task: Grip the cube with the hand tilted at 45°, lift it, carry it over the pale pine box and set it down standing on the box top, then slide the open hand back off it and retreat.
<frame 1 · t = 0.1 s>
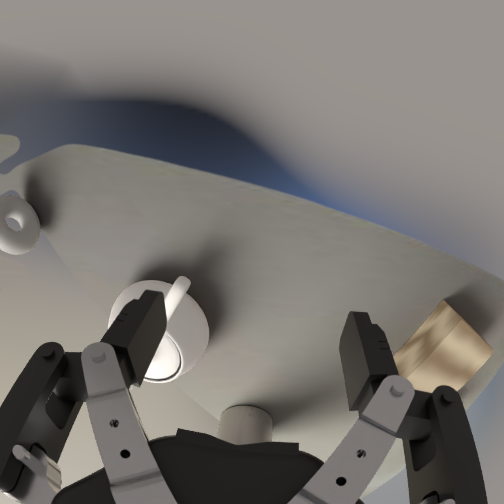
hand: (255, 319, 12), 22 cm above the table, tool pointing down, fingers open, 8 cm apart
teapot: (164, 319, 39), on the table
pine box: (435, 347, 38), on the table
donut: (35, 215, 36), on the table
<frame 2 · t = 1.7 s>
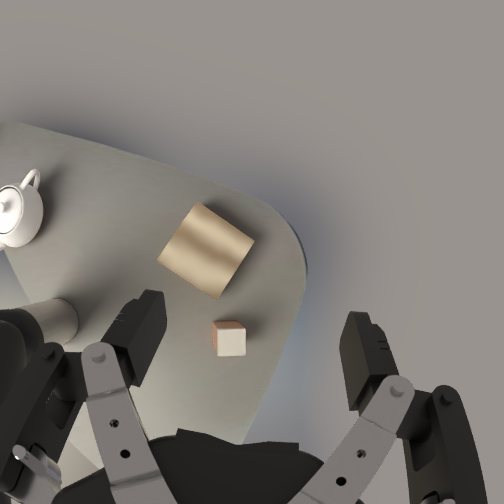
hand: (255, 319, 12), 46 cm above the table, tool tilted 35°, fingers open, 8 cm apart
cube: (224, 333, 58), on the table
teapot: (22, 219, 48), on the table
pine box: (203, 252, 58), on the table
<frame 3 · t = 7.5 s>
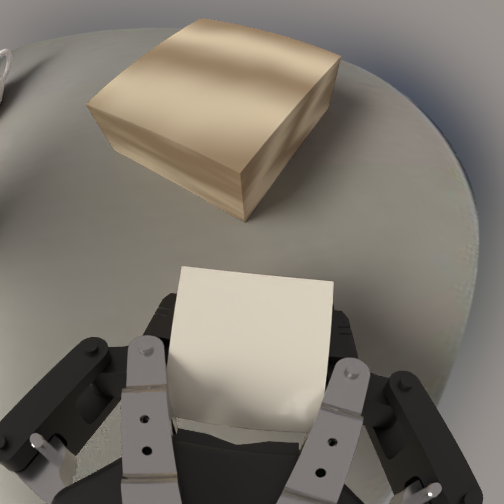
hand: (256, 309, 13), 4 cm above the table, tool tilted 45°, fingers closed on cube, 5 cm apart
cube: (252, 349, 16), on the table, touching gripper
pine box: (221, 124, 22), on the table
when the fingers open (11 cm above the table, at t = 13.5 s): cube stays where it is, resting on pine box.
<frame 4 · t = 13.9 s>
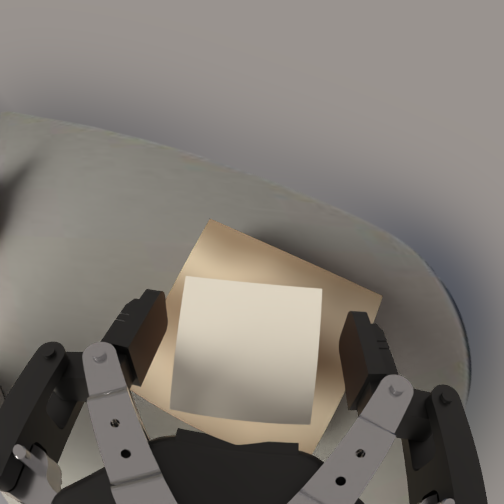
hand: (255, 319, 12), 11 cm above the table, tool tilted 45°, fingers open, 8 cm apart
cube: (250, 350, 17), point 6 cm above the table, touching pine box
pine box: (254, 347, 23), on the table, touching cube
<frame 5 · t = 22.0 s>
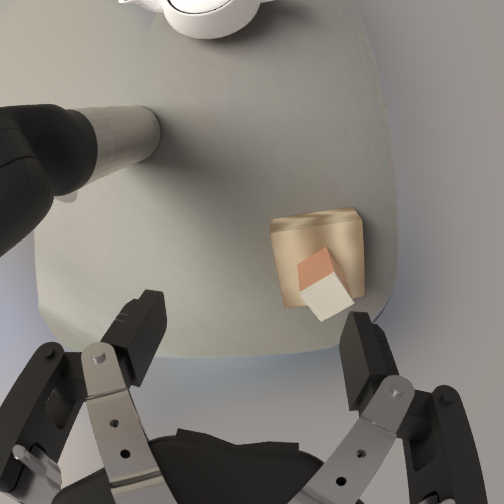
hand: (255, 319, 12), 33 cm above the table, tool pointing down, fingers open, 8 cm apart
cube: (320, 268, 42), point 6 cm above the table, touching pine box
teapot: (211, 6, 31), on the table
pine box: (317, 249, 47), on the table, touching cube
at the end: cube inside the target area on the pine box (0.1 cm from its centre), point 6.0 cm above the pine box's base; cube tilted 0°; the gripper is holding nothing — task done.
